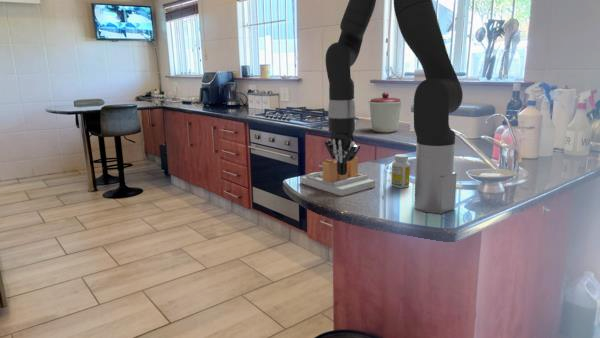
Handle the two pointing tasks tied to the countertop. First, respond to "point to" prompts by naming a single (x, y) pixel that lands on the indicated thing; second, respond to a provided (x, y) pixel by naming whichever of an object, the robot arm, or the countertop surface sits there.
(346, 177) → the tab
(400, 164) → the supplement bottle
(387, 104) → the canister
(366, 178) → the switch bank
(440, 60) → the robot arm
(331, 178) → the tab
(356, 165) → the tab
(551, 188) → the countertop surface
